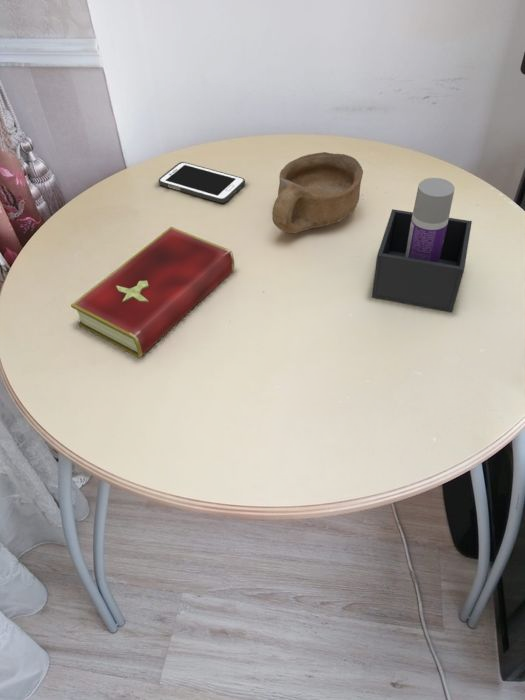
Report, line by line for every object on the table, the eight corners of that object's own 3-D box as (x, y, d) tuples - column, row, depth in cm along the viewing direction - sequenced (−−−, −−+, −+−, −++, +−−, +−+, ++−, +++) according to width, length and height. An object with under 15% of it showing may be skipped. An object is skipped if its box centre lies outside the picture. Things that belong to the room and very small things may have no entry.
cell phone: (224, 204, 98) (223, 200, 97) (157, 185, 103) (156, 180, 102) (247, 183, 102) (246, 178, 102) (181, 165, 108) (180, 160, 107)
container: (441, 282, 81) (463, 190, 70) (414, 293, 80) (433, 201, 69) (420, 264, 84) (439, 173, 73) (394, 274, 83) (409, 183, 72)
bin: (460, 263, 85) (471, 220, 79) (452, 312, 78) (464, 269, 72) (386, 251, 88) (392, 209, 82) (371, 297, 80) (377, 254, 75)
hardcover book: (235, 272, 86) (233, 249, 83) (141, 359, 74) (135, 337, 71) (175, 247, 90) (170, 225, 87) (78, 325, 79) (69, 303, 76)
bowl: (344, 254, 85) (330, 195, 79) (264, 255, 92) (245, 201, 86) (378, 193, 96) (368, 137, 89) (304, 198, 103) (289, 146, 96)
